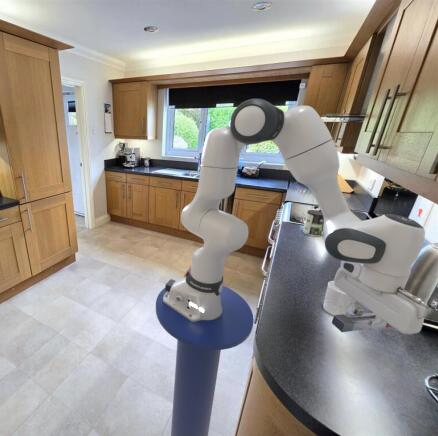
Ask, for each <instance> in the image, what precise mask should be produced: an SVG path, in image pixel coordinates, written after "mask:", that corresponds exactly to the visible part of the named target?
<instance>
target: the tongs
mask: <svg viewBox="0 0 438 436" xmlns="http://www.w3.org/2000/svg"><path fill="white" fill-rule="evenodd" d="M375 317H376V314H374V313H373V312H366V313H364V312H363V313H362V314H354V313H353V314H346V315H344V314H340V315H333V317H332V319H331V324H332V325H333V326H334V327H335V328H336V329H338V330H339V332H341V333H348V332H349V333H350V332H355V331H364V330H374V329H373V328H372V327H371V326H370V325H368V321H369V319H376V320H377V318H375ZM382 328H383V329H384V328H387V329H389V328H394V327H393V326H391V325H390V324H388V323H387V322H386V321H385V322H383V323H380V325H379V327H378V328H377V329H382Z"/></svg>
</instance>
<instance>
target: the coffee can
mask: <svg viewBox="0 0 438 436" xmlns="http://www.w3.org/2000/svg"><path fill="white" fill-rule="evenodd" d="M306 212H307V213H306V218H305V221H304V226H303V228H302V233H303V234H305V235H306V236H307V235H308V236H311V237H321V236H322V234H323V231H322V223H323V214H322V212H321V210H316V209H308V210H307V211H306Z"/></svg>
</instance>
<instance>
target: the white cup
mask: <svg viewBox="0 0 438 436" xmlns="http://www.w3.org/2000/svg"><path fill="white" fill-rule="evenodd" d="M351 299H352V297H350V296H349V295H348V294H346V293H345V292H343V291H342V290H341V289H339V288H338V287H336V286H335V283H334V280H330V281H328V282H327V287H326V291H325V295H324V299H323V300H324V301H323V305H322V307H323V309H324V311H325V312H327V313H328V314H330V315H332V316H334V315H340V314H344V315H347V313H348V311H349V310H350V307H351V306H352V301H351Z"/></svg>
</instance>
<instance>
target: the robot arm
mask: <svg viewBox="0 0 438 436" xmlns="http://www.w3.org/2000/svg"><path fill="white" fill-rule="evenodd" d="M268 141H271V142H273V143H274V144H275V145H276V147H277V148H278V150H279V152H280V155H281V156H282V159H283V160H284V164H285V165H286V168H287V169H288V170H289V173H290V174H291V175H292V176H293V178H294V180H296V181H297V182H298V183H300V184H301V185H304V186H305V187H307V188H308V189H309V190H310V191H311V193H312V195H313V197H314V198H315V201H316V204H317V205H318V207H319V209H320V211H321V212H322V214H323V223H322V234H323V241H324V242H323V243H324V248H325V250H326V251H327V253H328V254H329V255H330V256H331V257H333V258H334V259H337V260H339V261H341V262H340V267H339V268H338V269H337V271H336V273H335V276H334V278H333V281H334V283H335V286H336V287H338V288H339V289H341V290H342V291H343V292H345V293H346V294H348V295H349V296H350V297H352V299H351V301H352V303H351V306H352V309H351V310H352V311H351V313H352V314H353V315H354V314H364V309H362V306H363V307H365V308H366V309H367V310H368V311H370V312H371V313H374V314H376V317H375V318H377V320H376V319H369V321H368V325H370V326H371V327H372V328H373V329H372V330H374V329H379V328H378V327H379V325H380V323H383V322H385V321H386V322H387V323H388V324H390V325H391V326H393V327H392V328H394V329H396V330H397V331H398V332H399V333H400V334H403V335H413V334H415V335H416V334H418V333H420V332H421V331H422V328H423V325H424V321H425V318H426V316H427V314H428V312H429V307H428V306H427V304H426V303H425V302H424V300H423V299H422V298H421V297H418V296H417V295H414V294H413V293H411V292H410V291H408V290H406V289H405V287H406V285H407V282H408V280H409V278H410V276H411V273H412V265H413V264H414V263H415V262H416V261H417V260H418V258H419V255H420V253H421V251H422V247H423V244H424V241H425V235H426V230H425V228H424V227H423V225H421V224H420V223H419V222H417V221H415V220H413V219H411V218H410V217H406V216H403V215H399V214H395V213H383V214H382V215H380V216H377V217H374V218H370V219H364V220H363V218H362V217H361V216H360V215H359V214H357V213H356V212H355V211H353V210H352V209H351V208H350V207H349V205H348V203H347V201H346V198H345V197H344V194H343V191H342V189H341V186H340V183H339V179H338V175H339V169H340V158H339V154H338V150H337V146H336V144H335V141H334V139H333V136H332V135H331V132H330V130H329V129H328V127H327V125H326V123H325V122H324V119H322V117H321V115H319V113H318V112H317V111H316V109H315V108H314V107H312V106H310V105H298V106H295V107H292V108H290V109H288V110H286V111H284V110H283V109H281V108H279V107H278V106H276V105H274V104H272V103H271V102H269V101H268V100H265V99H262V98H250V99H247V100H244V101H242V102H241V103H240V104H238V106H236V108H235V109H234V110H233V112H232V114H231V115H230V120H229V125H228V126H219V127H216V128H213V129H212V130H210V131H209V132H208V133H207V135H206V137H205V141H204V144H203V148H202V153H201V160H200V168H199V176H198V184H197V189H196V192H195V195H194V197H193V199H192V201H191V202H190V203H189V204H186V206H184V208H183V209H182V211H181V214H180V222H181V224H182V226H184V227H185V229H186V230H187V231H188V232H190V233H191V234H193V235H195V236H196V237H199V238H200V239H202V240H203V246H202V247H199V248H197V249H196V250H194V252H193V253H192V255H191V263H190V264H191V265H190V266H189V267H188V268H189V269H187V270H186V272H185V273H184V275H183V276H181V277H180V278H178V279H176V280H175V279H172V278H170V279H169V280H168V281H167V282H166V283H165V286H164V288H165V290H166V291H167V292H166V293H165V295H164V297H163V302H164V303H166V304H167V305H168V306H170V307H171V308H173V309H174V310H176V311H177V312H179V313H180V314H182V315H183V316H184V317H186V318H187V319H189V320H190V321H192V322H196V321H200V320H213V319H216V318H218V317H219V316H220V315H221V314H222V305H221V291H222V287H223V286H224V276H223V274H224V269H225V263H226V259H227V258H228V256H229V254H231V253H232V252H236V251H238V250H239V249H241V248H242V247H244V246H245V244H246V243H247V241H248V238H249V227H248V224H247V223H246V222H245V221H243V220H242V219H240V218H238V217H237V216H236V215H234V214H231V213H228V212H226V211H223V210H220V205H221V202H222V201H223V200H225V199H227V198H229V197H230V196H232V195H233V194H234V192H235V190H236V189H235V188H236V183H237V177H238V169H239V162H240V156H241V153H242V150H243V149H244V148H245V146H249V145H250V146H251V145H257V144H260V143H264V142H268Z"/></svg>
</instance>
